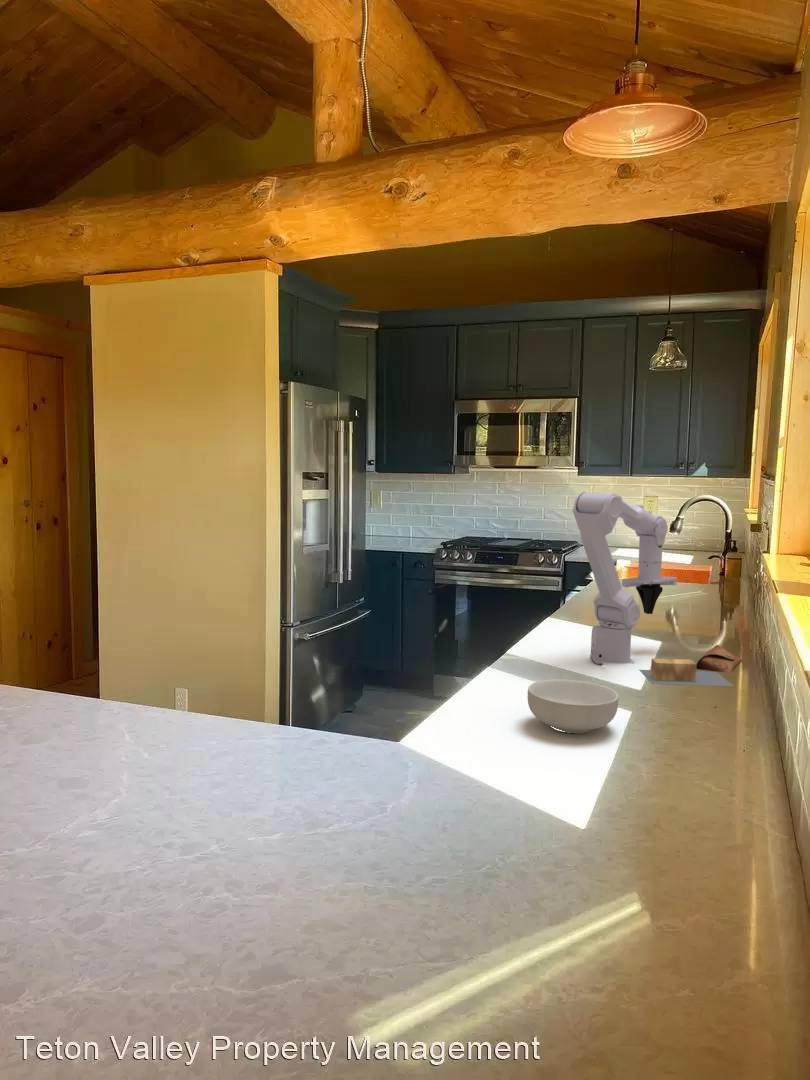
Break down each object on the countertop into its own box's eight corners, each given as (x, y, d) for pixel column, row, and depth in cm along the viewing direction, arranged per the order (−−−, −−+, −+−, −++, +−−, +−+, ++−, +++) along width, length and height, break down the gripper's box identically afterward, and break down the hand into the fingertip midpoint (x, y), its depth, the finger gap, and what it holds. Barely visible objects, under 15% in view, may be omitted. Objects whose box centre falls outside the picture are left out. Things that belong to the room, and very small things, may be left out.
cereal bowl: (619, 746, 140) (621, 707, 140) (524, 738, 144) (525, 700, 143) (614, 716, 157) (616, 681, 156) (528, 709, 160) (529, 675, 159)
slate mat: (652, 686, 178) (652, 683, 178) (638, 672, 190) (638, 669, 190) (734, 688, 177) (734, 686, 177) (715, 674, 189) (715, 671, 189)
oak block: (695, 681, 181) (655, 680, 181) (690, 676, 185) (650, 675, 185) (696, 664, 180) (656, 663, 181) (691, 659, 184) (651, 658, 185)
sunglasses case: (733, 676, 187) (719, 650, 189) (705, 687, 191) (692, 661, 192) (746, 660, 203) (733, 636, 204) (720, 671, 206) (707, 647, 207)
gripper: (632, 564, 202) (630, 617, 203) (683, 562, 205) (681, 615, 207) (618, 560, 209) (617, 612, 210) (669, 559, 212) (667, 609, 213)
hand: (648, 613), depth 209 cm, fingers closed
